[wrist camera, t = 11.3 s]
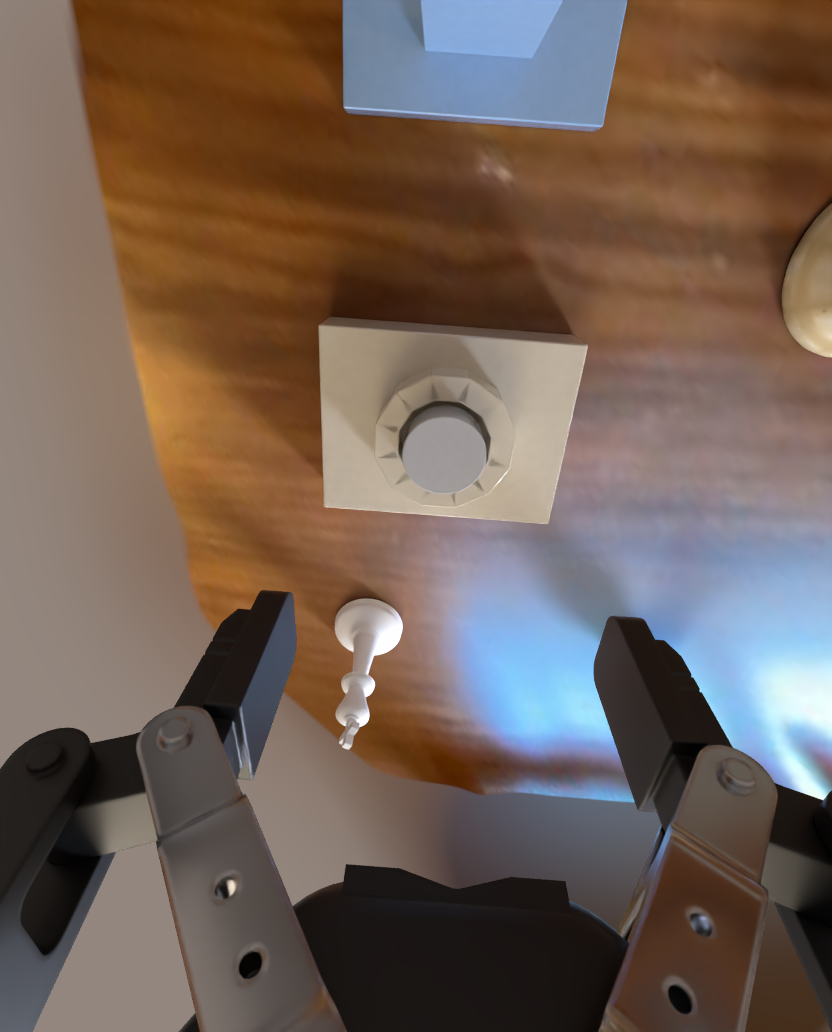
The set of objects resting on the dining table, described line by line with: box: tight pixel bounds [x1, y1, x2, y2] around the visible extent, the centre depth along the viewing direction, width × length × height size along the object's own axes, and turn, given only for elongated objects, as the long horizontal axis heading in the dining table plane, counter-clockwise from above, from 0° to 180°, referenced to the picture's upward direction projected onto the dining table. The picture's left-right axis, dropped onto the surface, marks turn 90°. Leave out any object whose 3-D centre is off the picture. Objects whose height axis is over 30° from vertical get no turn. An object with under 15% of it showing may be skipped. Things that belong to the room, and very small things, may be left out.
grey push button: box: [402, 405, 487, 494], centre depth 25 cm, size 4×4×2 cm
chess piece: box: [335, 599, 403, 750], centre depth 33 cm, size 5×5×10 cm
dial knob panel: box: [318, 317, 588, 524], centre depth 27 cm, size 13×10×4 cm
